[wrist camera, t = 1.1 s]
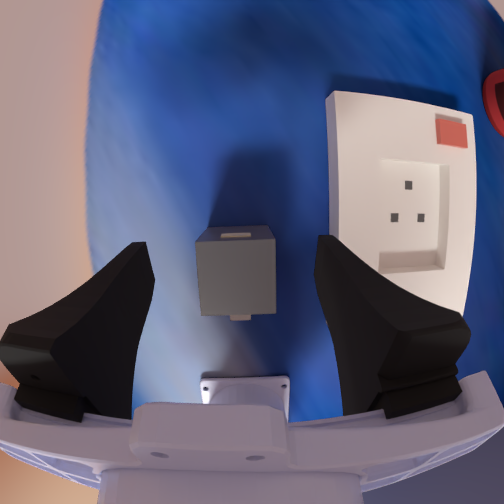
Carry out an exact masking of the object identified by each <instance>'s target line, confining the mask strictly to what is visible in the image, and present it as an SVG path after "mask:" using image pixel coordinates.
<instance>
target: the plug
mask: <svg viewBox="0 0 504 504" xmlns="http://www.w3.org/2000/svg"><path fill="white" fill-rule="evenodd" d="M195 247H196V261H197V274H198V286H199V297H200V308H201V316H216V315H230V321H234V320H251V314H275V313H276V244H275V237H274V236H273V234H272V232H271V230H270V229H269V227H268V225H255V226H228V227H207V229H206V230H205V231H204V232H203V233H202V234H201V236H200V237H199V238H198V239H197V240H196V242H195Z"/></svg>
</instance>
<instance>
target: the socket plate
mask: <svg viewBox="0 0 504 504" xmlns="http://www.w3.org/2000/svg"><path fill="white" fill-rule="evenodd" d="M325 103H326V119H327V138H328V164H329V235H333V236H335V237H336V238H337V239H338V240H339V241H341V242H342V243H343V244H344V245H345V246H346V247H347V248H349V249H350V250H351V251H352V252H353V253H354V254H355V255H357V256H358V257H359V258H360V259H361V260H363V261H364V262H365V263H366V264H368V265H369V266H370V267H371V268H373V269H374V270H375V271H377V272H378V273H379V274H381V275H382V276H384V277H385V278H387V279H388V280H390V281H391V282H393V283H394V284H396V285H398V286H399V287H401V288H403V289H405V290H407V291H408V292H410V293H412V294H414V295H416V296H418V297H420V298H422V299H425V300H427V301H429V302H432V303H434V304H436V305H439V306H442V307H445V308H448V309H451V310H454V311H457V312H460V314H461V315H462V316H463V311H464V306H465V301H466V296H467V290H468V284H469V277H470V270H471V262H472V254H473V244H474V232H475V217H476V153H475V138H474V126H473V117H472V115H471V114H467V113H463V112H460V111H456V110H452V109H448V108H443V107H439V106H434V105H430V104H425V103H420V102H415V101H410V100H404V99H398V98H392V97H386V96H379V95H371V94H363V93H354V92H344V91H333V92H332V93H331V94H330V95H329V96H328V97H327V98H326V99H325ZM326 324H327V321H326Z"/></svg>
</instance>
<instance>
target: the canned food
mask: <svg viewBox="0 0 504 504" xmlns="http://www.w3.org/2000/svg"><path fill="white" fill-rule="evenodd" d="M483 102H484V107H485V110H486V113H487V115H488V118H489V120H490V122H491V124H492V125H493V127H494V128H495V130H496V131H497V132H498V133H499V134H500V135H501V136H503V137H504V68H503V69H500V70H497V71H494V72H492V73H491V74H490V75H489V76H488V77H487V78H486V79H485V81H484V84H483Z"/></svg>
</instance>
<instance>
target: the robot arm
mask: <svg viewBox="0 0 504 504" xmlns="http://www.w3.org/2000/svg"><path fill="white" fill-rule="evenodd" d="M314 278H315V283H316V289H317V294H318V297H319V300H320V303H321V306H322V309H323V312H324V315H325V318H326V321H327V325H328V328H329V331H330V334H331V337H332V341H333V345H334V350H335V356H336V361H337V367H338V374H339V380H340V388H341V397H342V406H343V416H342V417H335V418H328V419H320V420H312V421H302V422H292V423H288V412H289V391H290V380H289V377H287V376H272V377H250V378H203V379H201V381H200V389H201V396H202V402H203V404H197V403H172V402H152V403H145V404H143V405H142V406H140V407H138V408H136V409H135V412H134V417H133V420H131V415H132V391H133V379H134V370H135V363H136V356H137V349H138V345H139V341H140V337H141V334H142V331H143V327H144V324H145V321H146V317H147V314H148V311H149V307H150V304H151V301H152V296H153V290H154V284H155V277H154V274H153V270H152V266H151V262H150V258H149V254H148V250H147V245H146V242H132V243H131V244H130V245H128V246H127V247H126V248H125V249H124V250H122V251H121V252H120V253H119V254H118V255H117V256H116V257H115V258H113V259H112V260H111V261H110V262H109V263H108V264H107V265H106V266H105V267H103V268H102V269H101V270H100V271H99V272H97V273H96V274H95V275H94V276H93V277H92V278H90V279H89V280H88V281H87V282H85V283H84V284H83V285H82V286H80V287H79V288H77V289H76V290H75V291H73V292H72V293H70V294H69V295H67V296H66V297H64V298H62V299H61V300H59V301H58V302H56V303H54V304H53V305H51V306H49V307H47V308H45V309H43V310H42V311H40V312H37V313H35V314H33V315H31V316H29V317H27V318H24V319H22V320H19V321H17V322H14V323H12V324H9V325H8V327H7V329H6V331H5V333H4V335H3V337H2V338H1V340H0V360H1V362H2V363H3V364H4V366H5V367H6V368H7V369H8V370H9V372H10V373H11V374H12V375H13V376H14V377H15V379H16V380H17V381H18V382H19V383H20V385H19V387H18V390H17V389H16V388H14V387H12V386H10V385H7V384H4V383H1V382H0V449H1V450H3V451H4V452H6V453H7V454H9V455H10V456H12V457H14V458H16V459H18V460H21V461H23V462H25V463H27V464H30V465H32V466H34V467H37V468H39V469H42V470H44V471H47V472H49V473H52V474H54V475H57V476H60V477H62V478H65V479H68V480H70V481H74V482H76V483H79V484H82V485H85V486H88V487H92V488H95V489H98V490H99V495H98V502H97V504H363V498H362V492H365V491H369V490H372V489H376V488H379V487H382V486H385V485H389V484H392V483H395V482H398V481H400V480H403V479H406V478H409V477H412V476H414V475H417V474H419V473H422V472H424V471H427V470H429V469H432V468H434V467H437V466H439V465H441V464H444V463H446V462H448V461H450V460H453V459H455V458H457V457H460V456H462V455H464V454H466V453H468V452H470V451H472V450H474V449H476V448H477V447H478V446H480V445H481V444H482V443H484V442H485V441H486V440H488V439H489V438H490V437H491V436H493V435H494V434H495V433H496V432H498V431H499V430H500V429H501V428H502V427H504V409H503V406H502V404H501V402H500V400H499V397H498V395H497V393H496V391H495V389H494V387H493V385H492V383H491V381H490V379H489V376H488V374H487V372H486V371H481V372H478V373H476V374H473V375H470V376H467V377H465V378H463V379H461V380H460V381H459V382H458V380H457V378H456V376H455V375H457V373H458V369H457V367H456V364H455V363H456V362H457V360H458V359H459V357H460V356H461V354H462V353H463V352H464V350H465V349H466V347H467V345H468V343H469V341H470V337H471V331H470V329H469V327H468V325H467V324H466V322H465V320H464V319H463V317H462V315H461V314H460V312H457V311H454V310H451V309H448V308H445V307H442V306H439V305H436V304H434V303H432V302H429V301H427V300H425V299H422V298H420V297H418V296H416V295H414V294H412V293H410V292H408V291H407V290H405V289H403V288H401V287H399V286H398V285H396V284H394V283H393V282H391V281H390V280H388V279H387V278H385V277H384V276H382V275H381V274H379V273H378V272H377V271H375V270H374V269H373V268H371V267H370V266H369V265H368V264H366V263H365V262H364V261H363V260H361V259H360V258H359V257H358V256H357V255H355V254H354V253H353V252H352V251H351V250H350V249H349V248H347V247H346V246H345V245H344V244H343V243H342V242H341V241H339V240H338V239H337V238H336V237H335V236H333V235H319V236H318V245H317V253H316V261H315V269H314ZM284 384H286V386H282V385H284ZM204 387H208V389H206V388H204Z"/></svg>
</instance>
